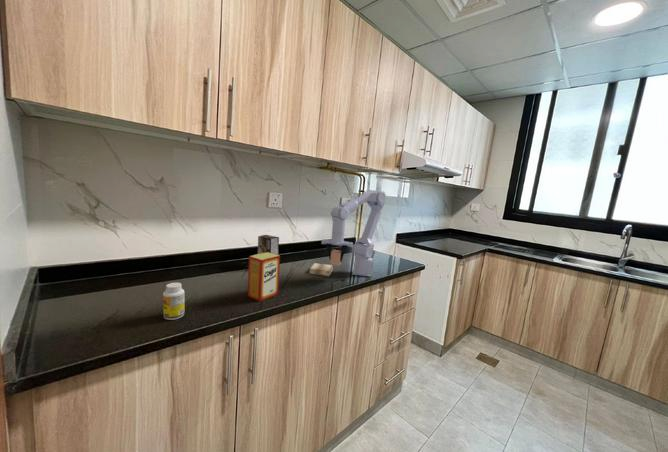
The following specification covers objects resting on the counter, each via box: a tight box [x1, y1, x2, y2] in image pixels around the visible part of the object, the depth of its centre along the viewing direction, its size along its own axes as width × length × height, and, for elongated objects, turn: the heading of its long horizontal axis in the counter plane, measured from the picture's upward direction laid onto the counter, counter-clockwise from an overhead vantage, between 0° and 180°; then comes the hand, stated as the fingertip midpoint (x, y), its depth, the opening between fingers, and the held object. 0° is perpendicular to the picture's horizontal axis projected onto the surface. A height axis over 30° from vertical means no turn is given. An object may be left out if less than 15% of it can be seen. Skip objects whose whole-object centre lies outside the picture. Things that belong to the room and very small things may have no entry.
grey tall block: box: [257, 234, 280, 255], centre depth 132 cm, size 9×6×16 cm
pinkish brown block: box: [329, 249, 342, 266], centre depth 121 cm, size 4×4×6 cm
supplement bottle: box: [162, 282, 186, 321], centre depth 79 cm, size 6×6×10 cm
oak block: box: [309, 262, 334, 277], centre depth 133 cm, size 10×10×3 cm
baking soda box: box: [247, 252, 281, 302], centre depth 98 cm, size 10×6×16 cm
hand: (335, 260), depth 122 cm, fingers closed on pinkish brown block, 4 cm apart
